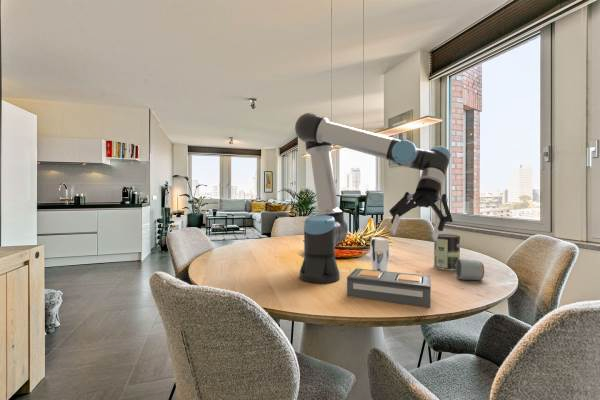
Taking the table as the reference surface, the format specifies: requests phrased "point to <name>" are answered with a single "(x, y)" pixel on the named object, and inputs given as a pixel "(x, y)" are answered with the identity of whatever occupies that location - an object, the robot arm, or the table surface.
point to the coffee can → (446, 251)
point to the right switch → (409, 278)
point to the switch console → (390, 288)
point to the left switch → (370, 274)
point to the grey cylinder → (469, 269)
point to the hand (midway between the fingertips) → (412, 235)
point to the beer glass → (379, 253)
